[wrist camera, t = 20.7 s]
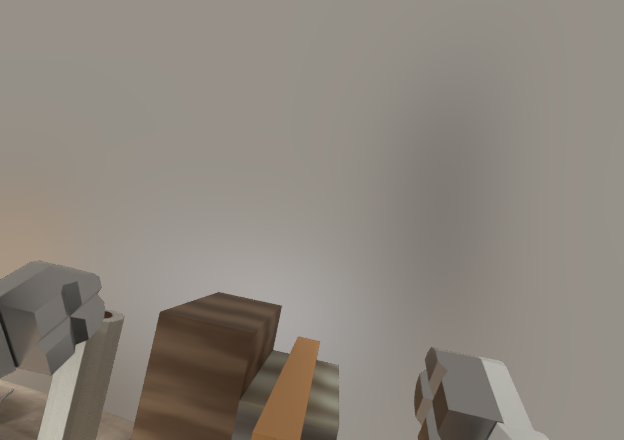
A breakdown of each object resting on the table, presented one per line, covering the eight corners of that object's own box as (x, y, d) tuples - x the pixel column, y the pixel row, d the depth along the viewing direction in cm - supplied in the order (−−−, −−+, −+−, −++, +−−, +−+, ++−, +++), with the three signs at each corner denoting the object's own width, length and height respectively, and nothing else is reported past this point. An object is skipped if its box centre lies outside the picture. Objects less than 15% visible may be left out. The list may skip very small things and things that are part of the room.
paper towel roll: (58, 467, 45) (97, 304, 47) (96, 483, 44) (135, 315, 46) (-2, 505, 38) (47, 312, 40) (41, 525, 37) (90, 324, 39)
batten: (290, 485, 21) (298, 444, 22) (244, 473, 22) (252, 432, 22) (316, 360, 46) (319, 341, 46) (294, 355, 46) (298, 336, 47)
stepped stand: (293, 673, 29) (351, 355, 31) (91, 610, 30) (160, 311, 32) (309, 522, 44) (347, 319, 46) (176, 486, 46) (218, 292, 48)
